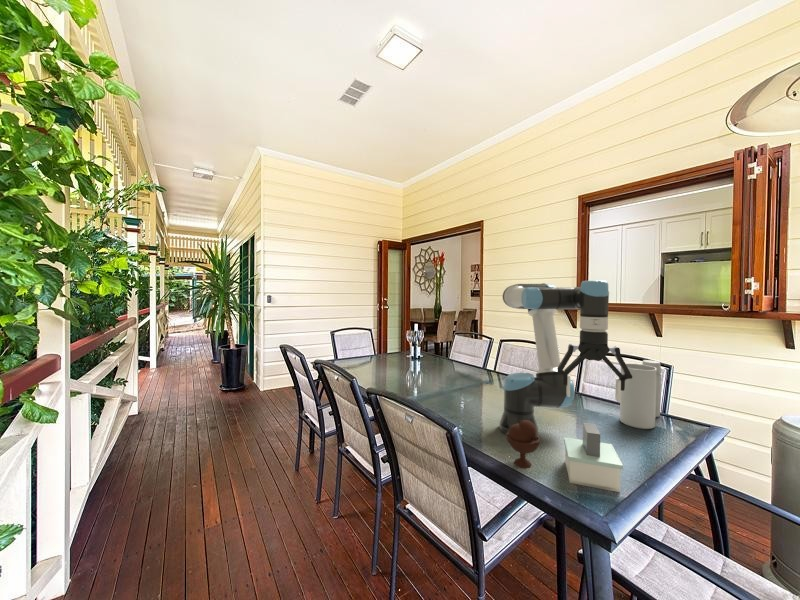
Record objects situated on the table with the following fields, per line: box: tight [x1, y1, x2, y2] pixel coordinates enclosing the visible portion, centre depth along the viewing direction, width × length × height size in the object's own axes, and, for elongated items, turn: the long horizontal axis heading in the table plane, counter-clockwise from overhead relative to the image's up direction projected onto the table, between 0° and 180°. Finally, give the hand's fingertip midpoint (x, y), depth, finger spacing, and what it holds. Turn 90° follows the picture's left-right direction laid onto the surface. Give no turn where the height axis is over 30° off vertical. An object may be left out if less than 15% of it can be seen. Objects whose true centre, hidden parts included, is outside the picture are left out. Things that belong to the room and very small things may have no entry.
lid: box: [563, 422, 624, 471], centre depth 104 cm, size 14×14×9 cm
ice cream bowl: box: [505, 420, 542, 469], centre depth 111 cm, size 11×11×15 cm
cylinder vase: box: [619, 363, 657, 430], centre depth 144 cm, size 12×12×25 cm
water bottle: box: [641, 359, 663, 418], centre depth 154 cm, size 9×8×25 cm
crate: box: [564, 448, 622, 493], centre depth 104 cm, size 13×13×7 cm
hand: (592, 398), depth 103 cm, fingers open, 13 cm apart
